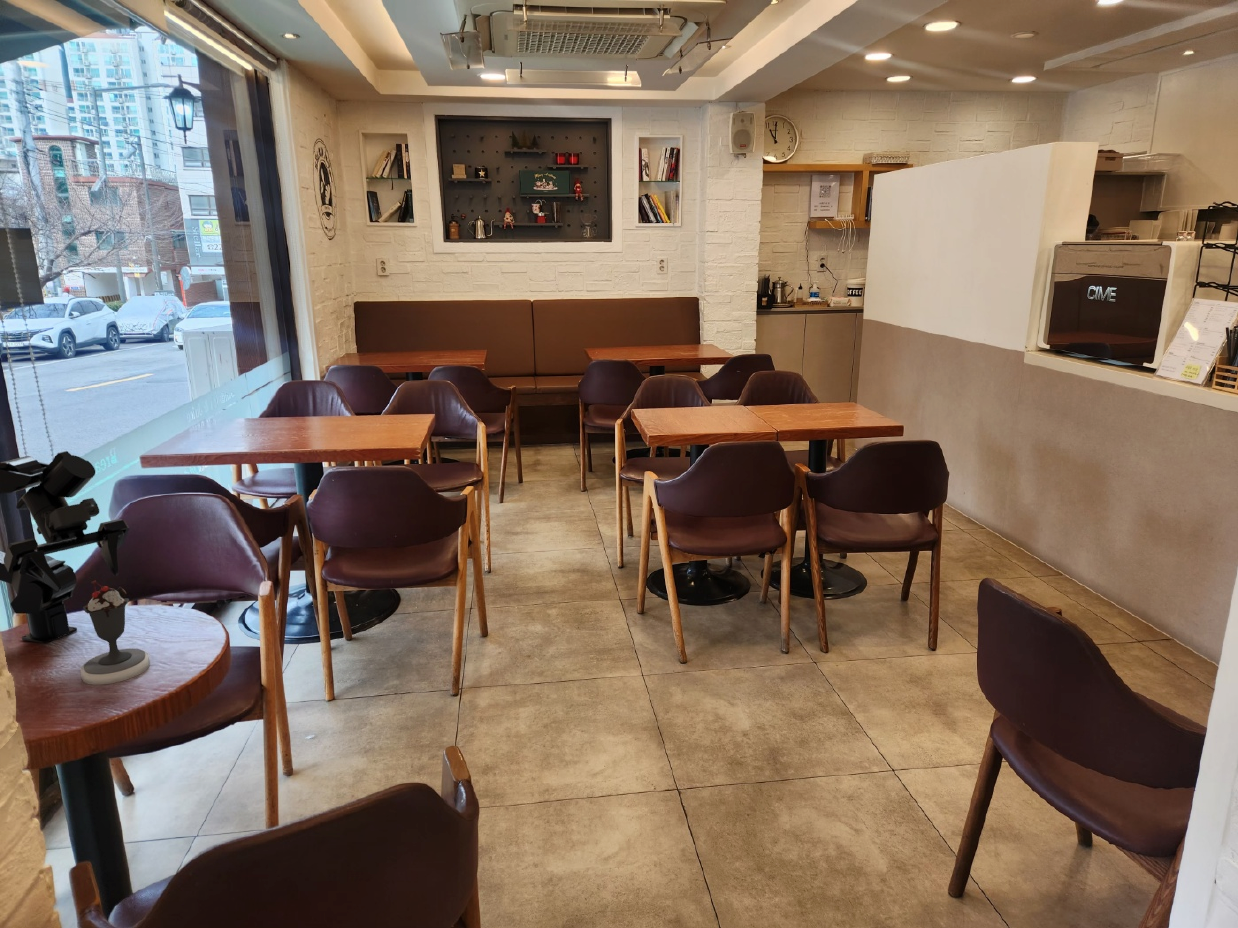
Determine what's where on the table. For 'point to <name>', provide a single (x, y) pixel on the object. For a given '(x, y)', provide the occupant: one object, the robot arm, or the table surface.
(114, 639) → the sundae
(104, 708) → the table surface
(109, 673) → the round mirror
